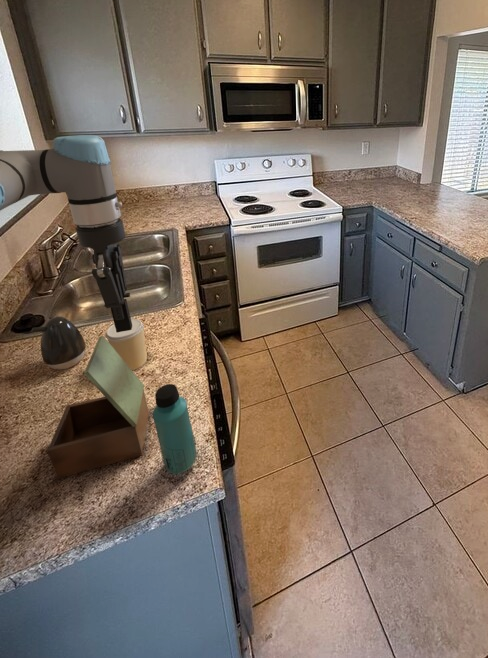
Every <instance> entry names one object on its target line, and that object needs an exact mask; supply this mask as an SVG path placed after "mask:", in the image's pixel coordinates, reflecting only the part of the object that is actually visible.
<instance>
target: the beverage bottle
mask: <svg viewBox="0 0 488 658" xmlns="http://www.w3.org/2000/svg"><path fill="white" fill-rule="evenodd" d="M154 398H155V404H156V405H155V406H154V408H153V410H152V419H153V422H154V426H155V431H156V436H157V439H158V443H159V447H160V454H161V459H162V463H163V465H164V468H165V470H166V471H167V472H168V473H169V474H172V475H173V474H174V475H179V474H183V473H185V472H186V471H188V470H189V469H190V468H191V467H193V465H194V464H195V462H196V459H197V454H198V451H197V447H196V446H197V445H196V438H195V434H194V431H193V427H192V423H191V418H190V414H189V409H188V402H187V399H186V398H185V397H183V396H180V392H179V390H178V387H177V386H176V385H175V384H173V383H168V384H164V385H161V387H159V388H158V389H157V390H156V392H155V394H154Z"/></svg>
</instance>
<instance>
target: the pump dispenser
mask: <svg viewBox="0 0 488 658" xmlns="http://www.w3.org/2000/svg"><path fill="white" fill-rule="evenodd" d="M31 332H33V333H41V339H40V353H41V358H42V361H43V363H44V364H45V365H47V366H48V367H49V368H50V369H54V370H66V369H69V368H71V367H73V366H75V365H77V364H79V362H80V361H81V360H82V359H83V357H84V355H85V352H86V348H87V344H86V342H85V341H86V340H85V339H84V337H83V335H82V333H81V332H80V331H79V329H78V328H77V327H76V326H75V324H74V323H73V322H72V321H71V320H69V319H68V318H66V317H64V316H54V317H52V318H50V319H48V321H46V323H45V324H44V326H37V327H32V328H31Z"/></svg>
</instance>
